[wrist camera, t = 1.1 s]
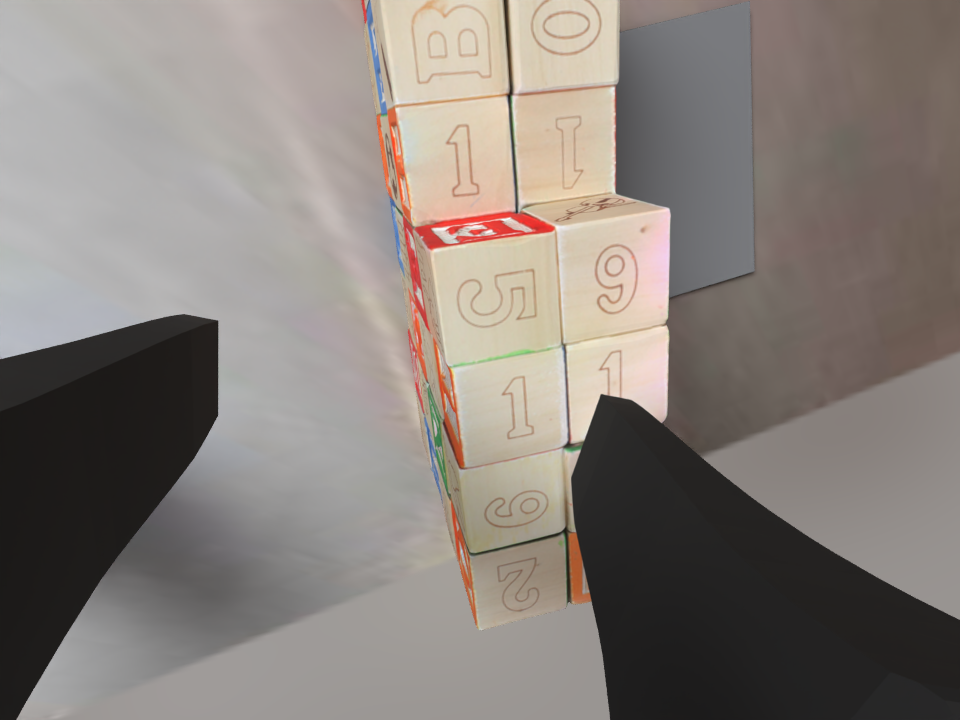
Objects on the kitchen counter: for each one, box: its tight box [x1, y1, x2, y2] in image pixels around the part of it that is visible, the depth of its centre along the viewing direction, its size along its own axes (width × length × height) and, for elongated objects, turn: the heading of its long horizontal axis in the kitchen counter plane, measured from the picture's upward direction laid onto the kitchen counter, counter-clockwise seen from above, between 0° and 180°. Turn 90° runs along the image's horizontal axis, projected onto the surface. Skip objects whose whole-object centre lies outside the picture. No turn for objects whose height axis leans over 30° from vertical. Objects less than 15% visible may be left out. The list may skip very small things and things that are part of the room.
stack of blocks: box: [362, 0, 671, 630], centre depth 19 cm, size 21×6×12 cm, turn 6°
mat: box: [616, 1, 754, 297], centre depth 26 cm, size 10×12×1 cm
